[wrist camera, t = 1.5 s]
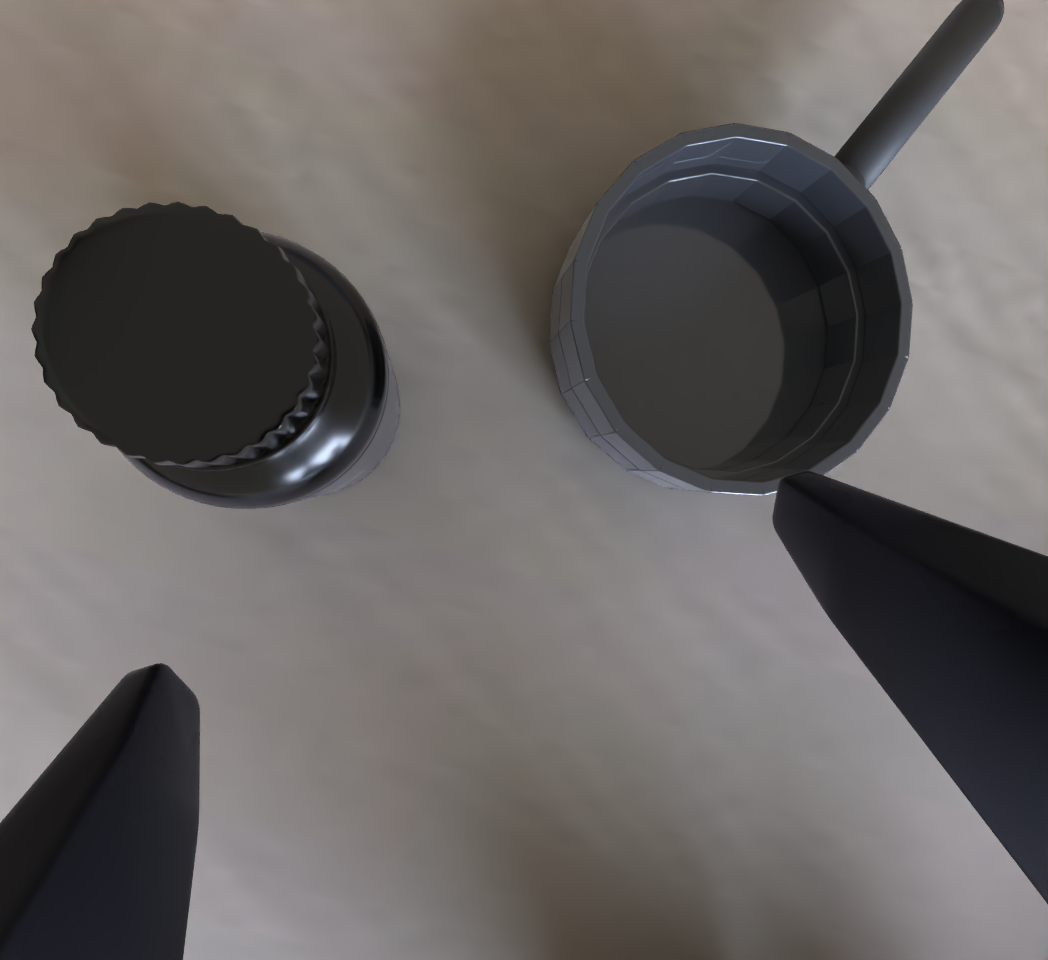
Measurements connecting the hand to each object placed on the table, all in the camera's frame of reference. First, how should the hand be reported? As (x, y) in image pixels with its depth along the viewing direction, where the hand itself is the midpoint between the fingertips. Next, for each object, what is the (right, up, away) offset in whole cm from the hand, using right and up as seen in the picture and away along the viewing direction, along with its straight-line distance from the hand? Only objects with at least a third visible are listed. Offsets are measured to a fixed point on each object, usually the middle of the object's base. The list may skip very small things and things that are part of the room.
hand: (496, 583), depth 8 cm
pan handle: (+15, +16, +15) cm, 27 cm away
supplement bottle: (-8, +4, +14) cm, 17 cm away
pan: (+8, +8, +16) cm, 19 cm away
